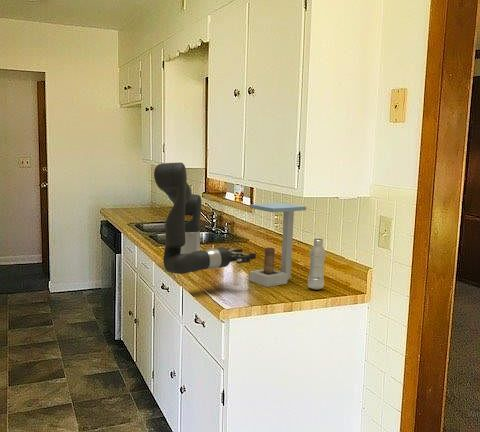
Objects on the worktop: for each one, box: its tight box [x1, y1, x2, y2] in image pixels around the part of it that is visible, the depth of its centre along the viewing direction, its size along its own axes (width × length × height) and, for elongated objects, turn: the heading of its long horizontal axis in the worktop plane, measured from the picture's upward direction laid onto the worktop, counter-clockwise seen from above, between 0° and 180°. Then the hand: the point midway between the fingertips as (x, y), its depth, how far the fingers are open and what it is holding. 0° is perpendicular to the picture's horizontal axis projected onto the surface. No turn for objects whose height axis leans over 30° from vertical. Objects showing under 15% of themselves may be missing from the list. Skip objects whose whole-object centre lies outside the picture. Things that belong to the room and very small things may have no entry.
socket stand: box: [249, 202, 307, 288], centre depth 215 cm, size 18×14×32 cm
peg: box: [263, 247, 276, 275], centre depth 214 cm, size 4×4×14 cm
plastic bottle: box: [307, 238, 327, 290], centre depth 206 cm, size 6×7×20 cm
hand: (248, 253), depth 207 cm, fingers open, 8 cm apart
